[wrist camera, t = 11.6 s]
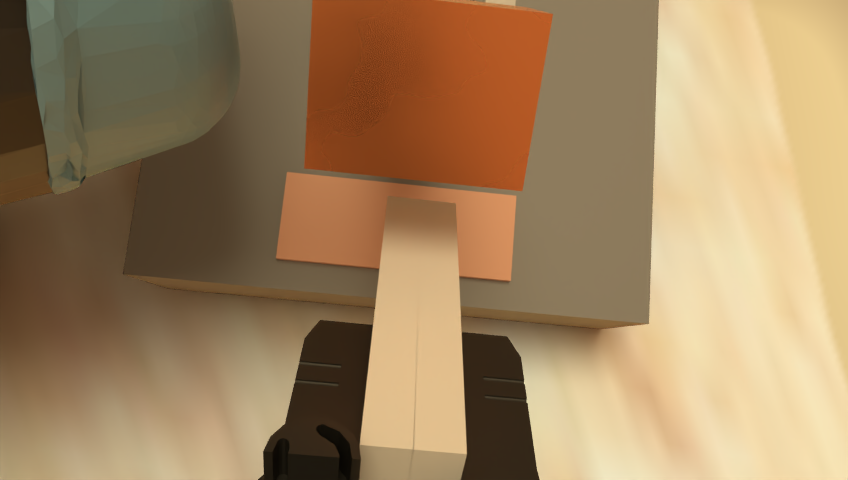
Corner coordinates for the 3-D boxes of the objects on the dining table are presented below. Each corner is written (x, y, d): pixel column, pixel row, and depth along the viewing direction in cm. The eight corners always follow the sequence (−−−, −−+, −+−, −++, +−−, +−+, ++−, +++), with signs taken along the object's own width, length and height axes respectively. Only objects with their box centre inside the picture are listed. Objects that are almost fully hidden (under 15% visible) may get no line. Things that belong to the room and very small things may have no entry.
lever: (364, 62, 24) (304, 168, 11) (370, -20, 23) (312, -15, 10) (462, 74, 25) (522, 191, 11) (473, -8, 24) (553, 13, 10)
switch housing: (168, 288, 27) (90, 264, 20) (229, -107, 30) (181, -256, 23) (601, 329, 28) (682, 320, 21) (617, -58, 31) (693, -186, 24)
